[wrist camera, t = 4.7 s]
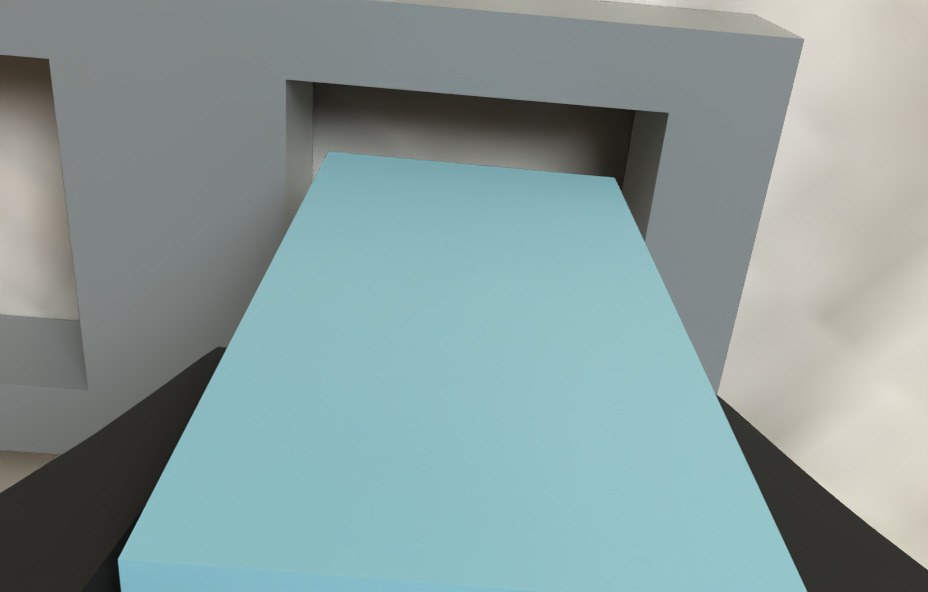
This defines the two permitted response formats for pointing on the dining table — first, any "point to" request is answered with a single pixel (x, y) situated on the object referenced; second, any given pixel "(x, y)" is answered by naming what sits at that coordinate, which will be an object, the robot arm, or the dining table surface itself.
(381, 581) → the plug
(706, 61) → the panel
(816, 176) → the dining table surface
